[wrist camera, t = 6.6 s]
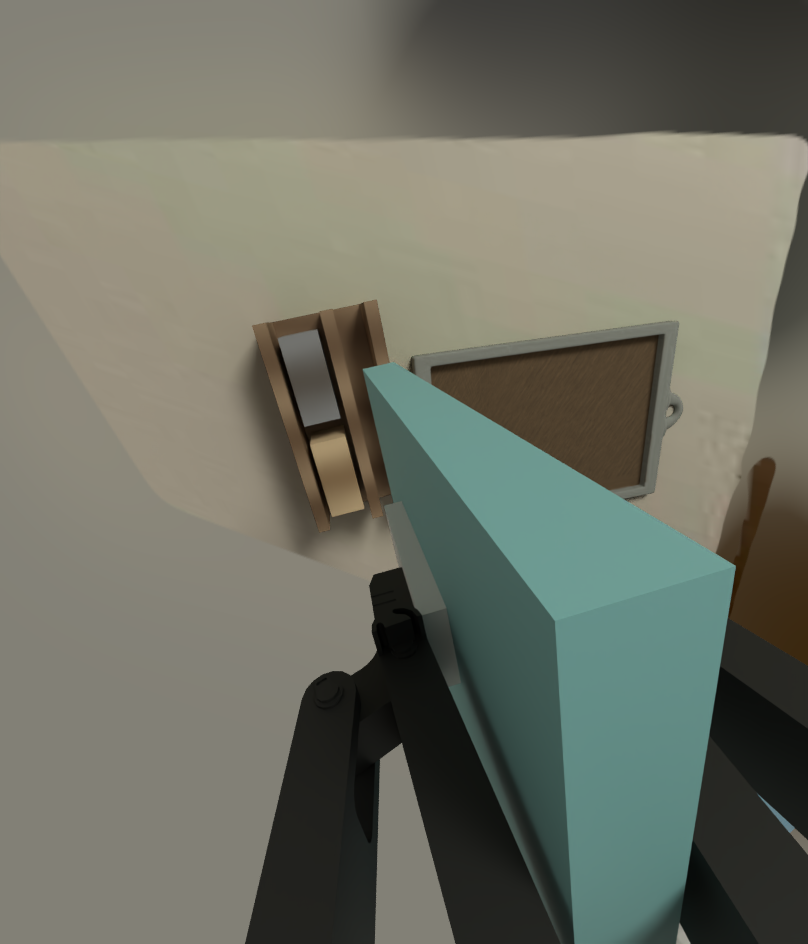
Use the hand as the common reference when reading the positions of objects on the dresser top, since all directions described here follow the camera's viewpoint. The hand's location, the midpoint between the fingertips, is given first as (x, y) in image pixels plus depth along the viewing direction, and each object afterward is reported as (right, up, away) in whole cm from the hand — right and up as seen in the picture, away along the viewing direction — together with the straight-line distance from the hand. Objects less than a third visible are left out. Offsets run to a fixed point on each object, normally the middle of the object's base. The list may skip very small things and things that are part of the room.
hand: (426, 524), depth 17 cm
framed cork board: (+15, +7, +27) cm, 31 cm away
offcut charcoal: (-9, +11, +18) cm, 23 cm away
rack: (-7, +8, +21) cm, 23 cm away
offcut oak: (-7, +3, +22) cm, 23 cm away
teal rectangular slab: (-1, +2, +6) cm, 6 cm away
